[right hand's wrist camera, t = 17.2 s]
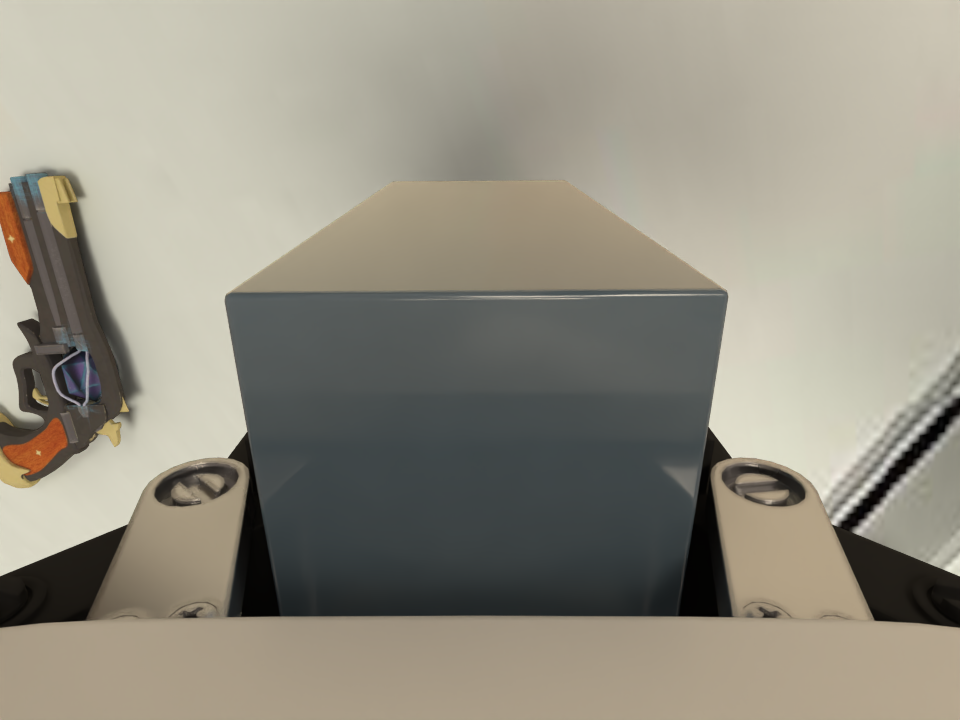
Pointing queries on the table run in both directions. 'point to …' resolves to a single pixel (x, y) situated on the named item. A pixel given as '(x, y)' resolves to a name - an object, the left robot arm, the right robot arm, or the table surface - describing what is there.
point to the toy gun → (55, 336)
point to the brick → (478, 406)
